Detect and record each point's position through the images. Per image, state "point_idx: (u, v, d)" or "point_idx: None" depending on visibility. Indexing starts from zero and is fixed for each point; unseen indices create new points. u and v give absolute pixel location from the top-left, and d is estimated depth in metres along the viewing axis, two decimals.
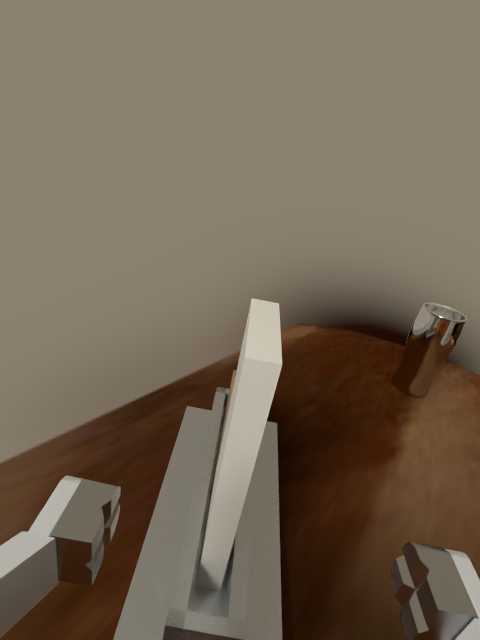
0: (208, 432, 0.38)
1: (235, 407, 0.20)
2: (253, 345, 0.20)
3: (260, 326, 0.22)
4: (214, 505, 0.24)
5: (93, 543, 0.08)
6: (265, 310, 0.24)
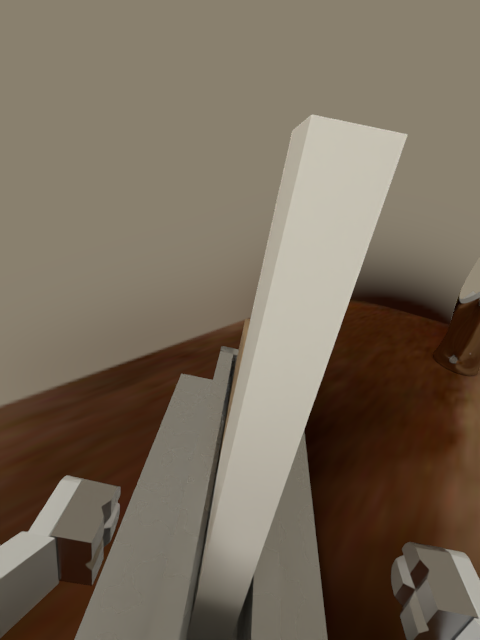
0: (209, 400, 0.26)
1: (277, 272, 0.09)
2: None
3: None
4: (222, 502, 0.13)
5: (93, 543, 0.08)
6: None
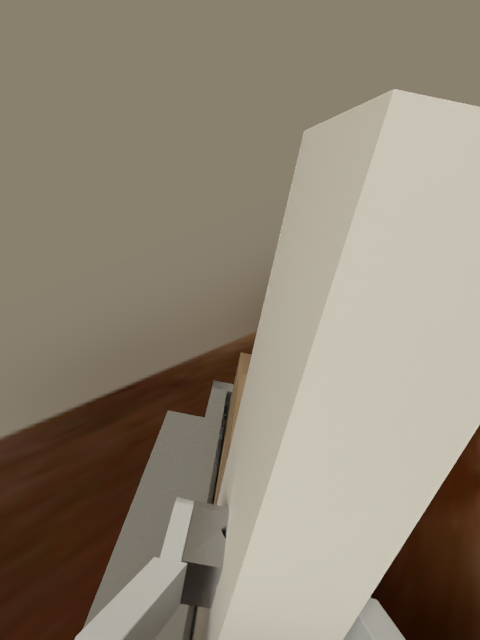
0: (197, 457, 0.22)
1: (291, 433, 0.04)
2: None
3: None
4: None
5: None
6: None
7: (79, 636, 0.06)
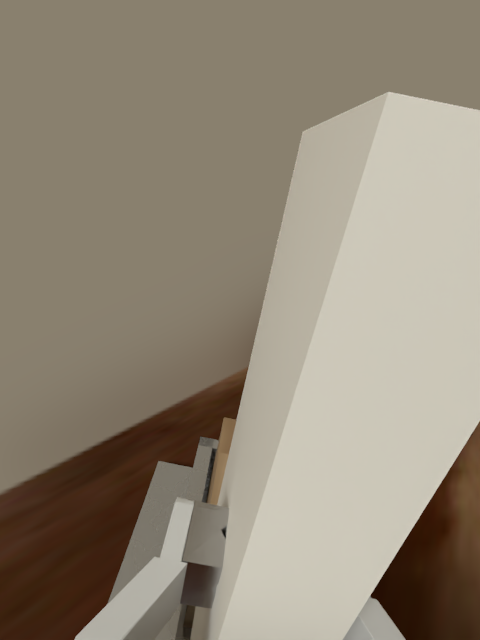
0: None
1: (289, 435, 0.04)
2: None
3: None
4: None
5: None
6: None
7: (79, 637, 0.06)
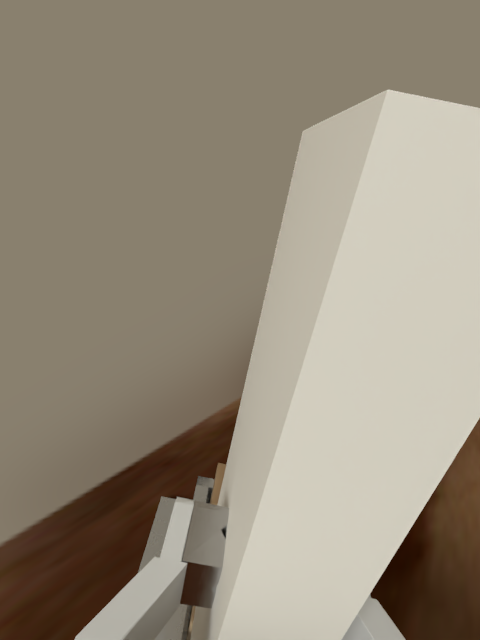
0: None
1: (289, 433, 0.04)
2: None
3: None
4: None
5: None
6: None
7: (79, 636, 0.06)
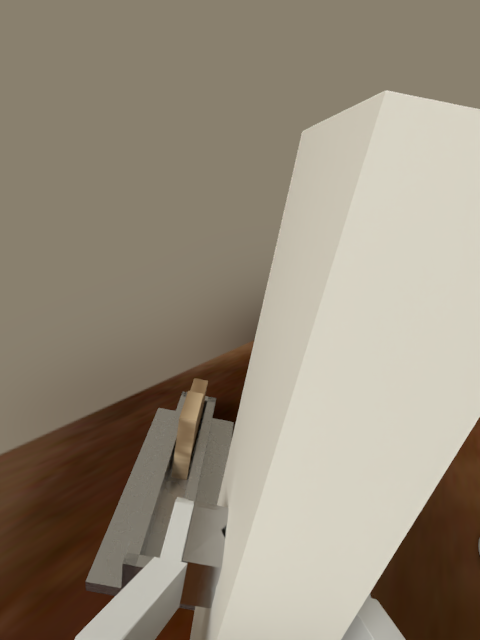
0: (170, 429, 0.47)
1: (287, 433, 0.04)
2: None
3: None
4: None
5: None
6: None
7: (79, 637, 0.06)
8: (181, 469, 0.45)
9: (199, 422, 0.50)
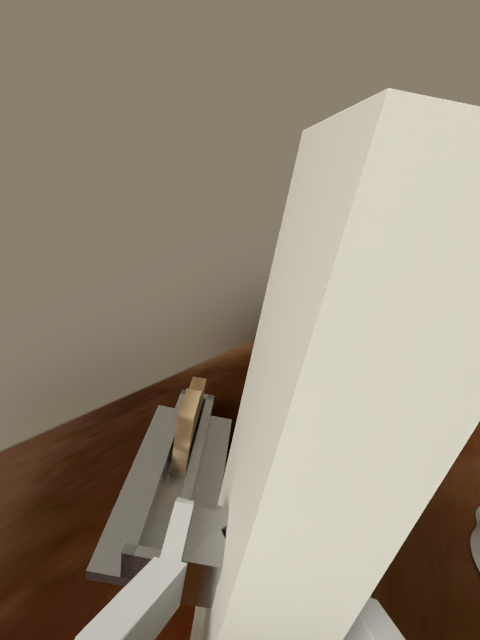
0: (169, 425, 0.49)
1: (289, 434, 0.04)
2: None
3: None
4: None
5: None
6: None
7: (79, 637, 0.06)
8: (179, 464, 0.46)
9: None
